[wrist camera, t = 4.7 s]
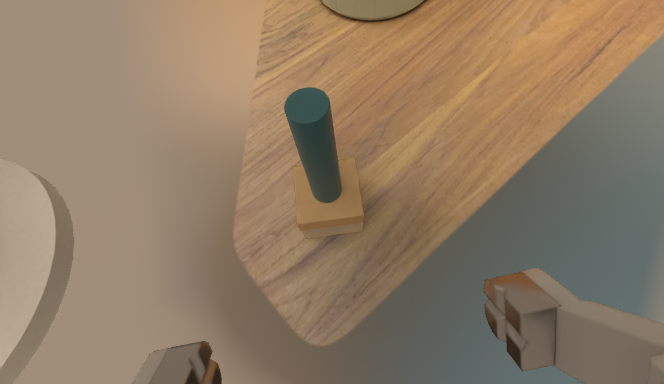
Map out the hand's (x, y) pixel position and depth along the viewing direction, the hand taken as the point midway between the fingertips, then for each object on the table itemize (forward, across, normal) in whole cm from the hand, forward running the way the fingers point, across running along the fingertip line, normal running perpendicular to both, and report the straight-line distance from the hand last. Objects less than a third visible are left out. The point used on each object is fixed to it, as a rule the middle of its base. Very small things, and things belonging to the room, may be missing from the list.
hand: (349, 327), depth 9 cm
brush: (+20, 0, +4) cm, 20 cm away
